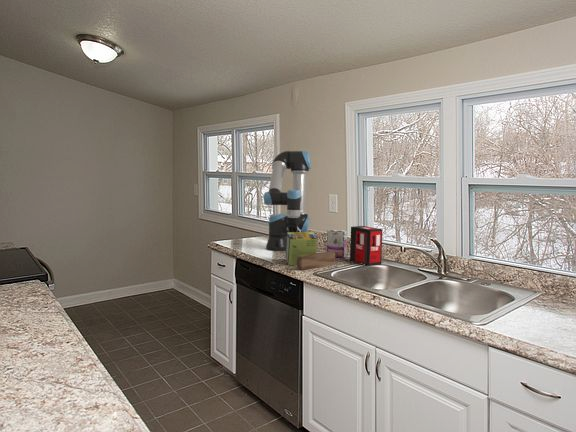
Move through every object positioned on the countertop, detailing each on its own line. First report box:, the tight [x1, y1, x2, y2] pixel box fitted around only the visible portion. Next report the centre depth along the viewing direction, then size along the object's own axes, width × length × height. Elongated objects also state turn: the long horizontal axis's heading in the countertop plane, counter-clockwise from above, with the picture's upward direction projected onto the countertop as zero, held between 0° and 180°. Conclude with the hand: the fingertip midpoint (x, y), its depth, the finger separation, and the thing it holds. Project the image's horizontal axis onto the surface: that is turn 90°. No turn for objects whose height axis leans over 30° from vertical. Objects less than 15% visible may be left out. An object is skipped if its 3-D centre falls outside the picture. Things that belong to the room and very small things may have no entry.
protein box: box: [285, 231, 318, 266], centre depth 239 cm, size 10×15×16 cm
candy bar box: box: [326, 229, 348, 259], centre depth 262 cm, size 11×5×16 cm, turn 62°
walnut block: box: [296, 251, 336, 271], centre depth 232 cm, size 4×24×7 cm, turn 129°
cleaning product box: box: [349, 225, 383, 267], centre depth 245 cm, size 16×9×20 cm, turn 31°
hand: (292, 257), depth 248 cm, fingers closed
